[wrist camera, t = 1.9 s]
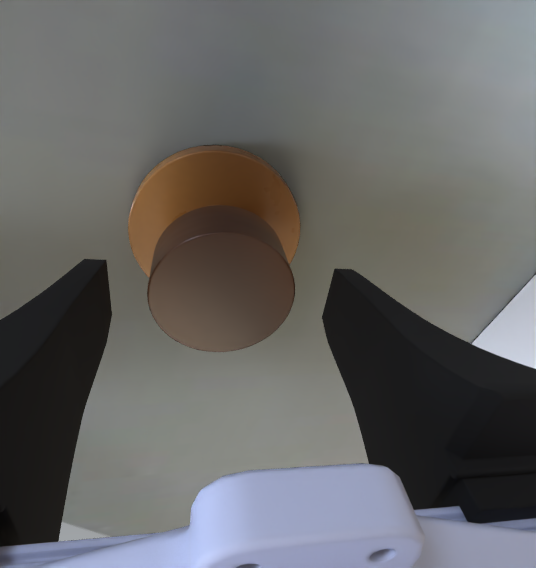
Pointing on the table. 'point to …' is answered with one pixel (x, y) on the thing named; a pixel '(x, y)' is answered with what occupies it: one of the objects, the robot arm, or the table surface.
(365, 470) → the robot arm
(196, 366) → the table surface
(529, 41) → the table surface
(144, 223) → the wooden peg base
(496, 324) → the framed art
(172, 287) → the brown short cylinder
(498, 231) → the table surface
